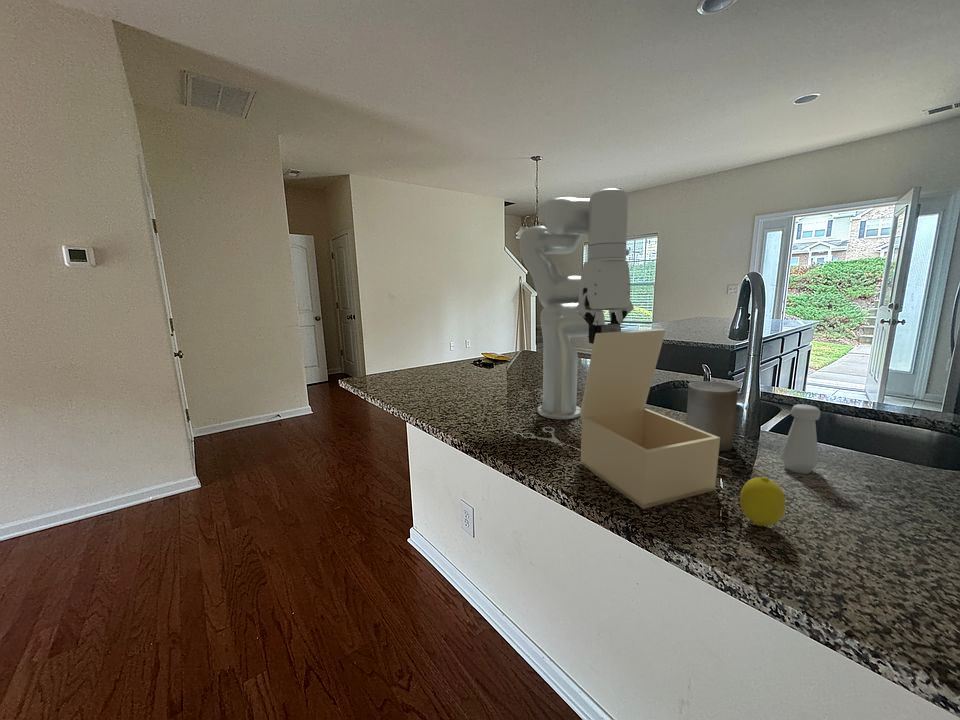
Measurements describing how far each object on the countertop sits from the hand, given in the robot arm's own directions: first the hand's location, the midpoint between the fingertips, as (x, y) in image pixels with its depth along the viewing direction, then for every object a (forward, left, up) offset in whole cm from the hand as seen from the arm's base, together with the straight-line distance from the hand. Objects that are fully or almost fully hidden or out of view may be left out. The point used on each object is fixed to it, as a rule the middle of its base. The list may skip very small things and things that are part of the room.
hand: (603, 342), depth 83 cm
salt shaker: (+22, +30, -25) cm, 45 cm away
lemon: (+32, +5, -25) cm, 41 cm away
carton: (+13, 0, -24) cm, 28 cm away
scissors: (-8, -7, -25) cm, 27 cm away
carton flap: (+6, 0, -6) cm, 9 cm away
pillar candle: (+6, +25, -25) cm, 36 cm away
